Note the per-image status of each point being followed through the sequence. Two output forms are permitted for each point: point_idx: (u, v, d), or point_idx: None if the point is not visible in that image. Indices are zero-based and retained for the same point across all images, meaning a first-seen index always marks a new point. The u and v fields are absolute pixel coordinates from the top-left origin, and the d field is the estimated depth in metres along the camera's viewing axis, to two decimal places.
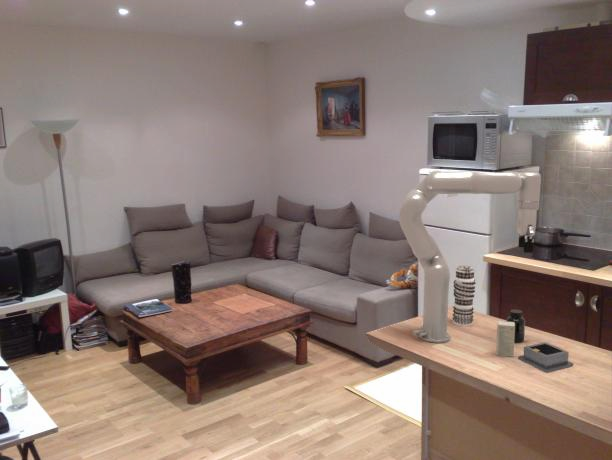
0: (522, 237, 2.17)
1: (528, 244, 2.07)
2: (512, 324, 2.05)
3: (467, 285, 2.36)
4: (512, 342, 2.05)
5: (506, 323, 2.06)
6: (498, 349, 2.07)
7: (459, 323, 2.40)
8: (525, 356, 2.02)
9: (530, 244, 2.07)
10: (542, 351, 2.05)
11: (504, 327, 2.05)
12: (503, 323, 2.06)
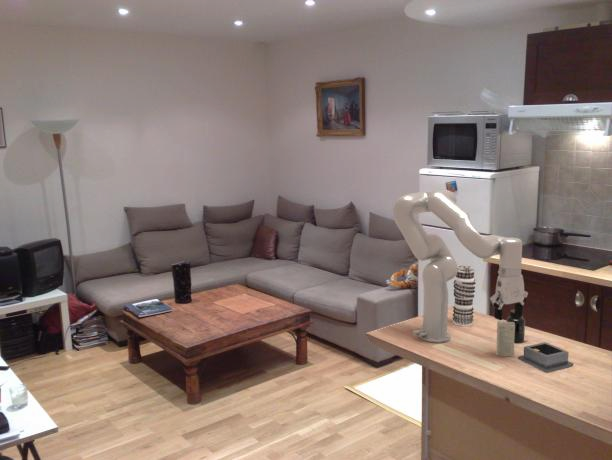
0: None
1: None
2: (512, 324, 2.05)
3: (467, 285, 2.36)
4: (512, 342, 2.05)
5: (506, 323, 2.06)
6: (498, 349, 2.07)
7: (459, 323, 2.40)
8: (525, 356, 2.02)
9: None
10: (542, 351, 2.05)
11: (504, 327, 2.05)
12: (503, 323, 2.06)
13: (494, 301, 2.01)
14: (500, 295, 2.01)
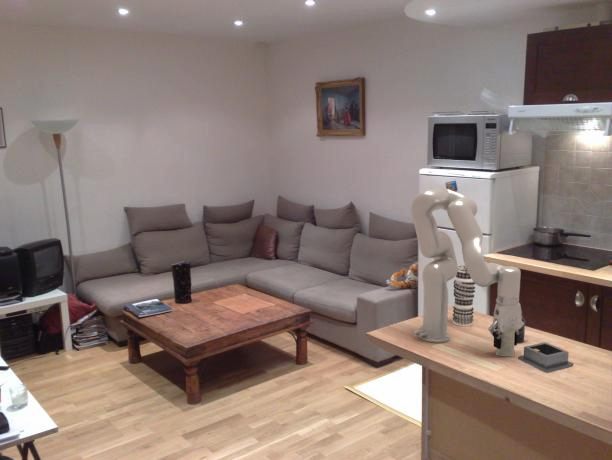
0: None
1: None
2: None
3: (467, 285, 2.36)
4: (512, 342, 2.05)
5: None
6: (498, 349, 2.07)
7: (459, 323, 2.40)
8: (525, 356, 2.02)
9: None
10: (542, 351, 2.05)
11: None
12: None
13: (493, 331, 2.03)
14: (497, 323, 2.03)
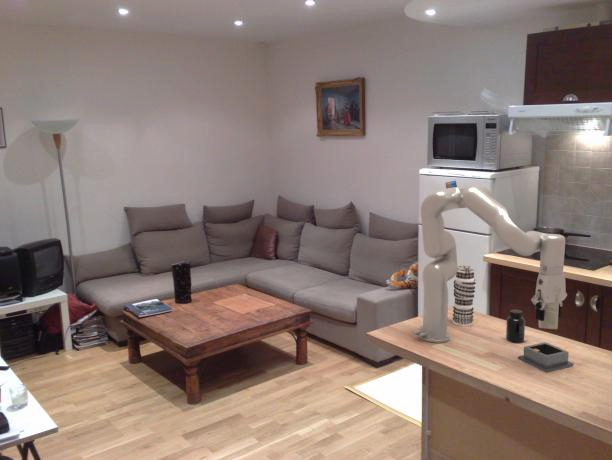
0: None
1: None
2: None
3: (467, 285, 2.36)
4: (556, 313, 1.95)
5: None
6: (541, 321, 1.97)
7: (459, 323, 2.40)
8: (525, 356, 2.02)
9: None
10: (542, 351, 2.05)
11: None
12: None
13: (536, 301, 1.94)
14: (541, 294, 1.93)
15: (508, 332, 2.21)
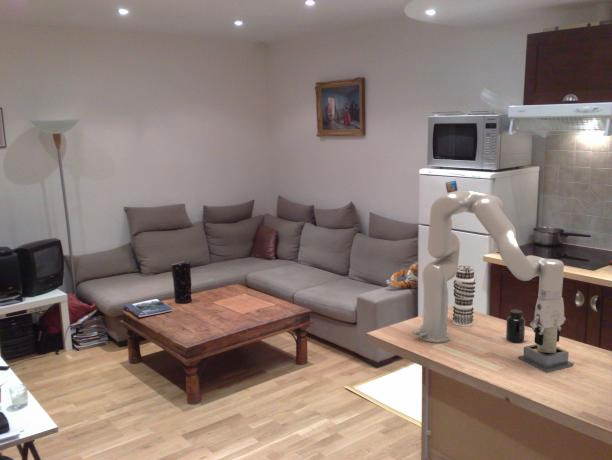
0: None
1: None
2: None
3: (467, 285, 2.36)
4: (555, 338, 1.96)
5: None
6: (540, 345, 1.98)
7: (459, 323, 2.40)
8: (525, 356, 2.02)
9: None
10: None
11: None
12: None
13: (535, 326, 1.95)
14: (540, 318, 1.95)
15: (508, 332, 2.21)
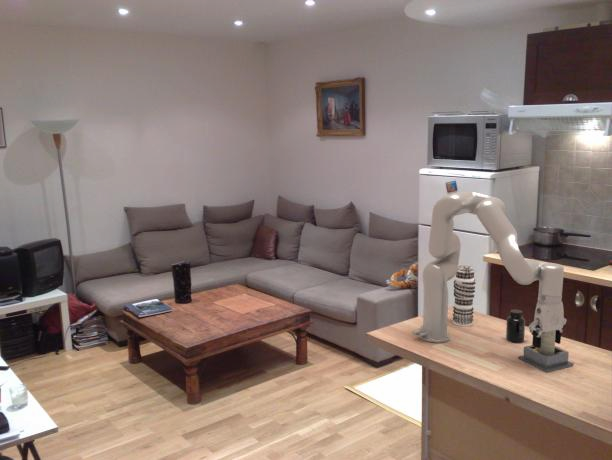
0: None
1: None
2: None
3: (467, 285, 2.36)
4: (552, 347, 1.97)
5: None
6: None
7: (459, 323, 2.40)
8: (525, 356, 2.02)
9: None
10: None
11: (544, 332, 1.97)
12: None
13: (533, 329, 1.95)
14: (539, 322, 1.95)
15: (508, 332, 2.21)
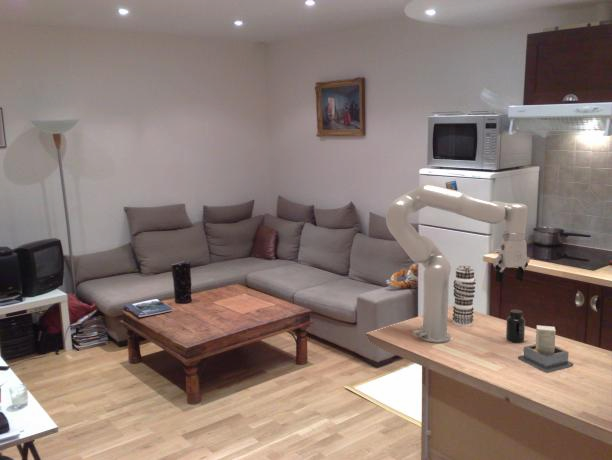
0: None
1: None
2: (552, 329, 1.97)
3: (467, 285, 2.36)
4: (552, 347, 1.97)
5: (546, 328, 1.98)
6: None
7: (459, 323, 2.40)
8: (525, 356, 2.02)
9: None
10: None
11: (544, 332, 1.97)
12: (543, 328, 1.98)
13: (496, 263, 2.08)
14: (502, 258, 2.08)
15: (508, 332, 2.21)
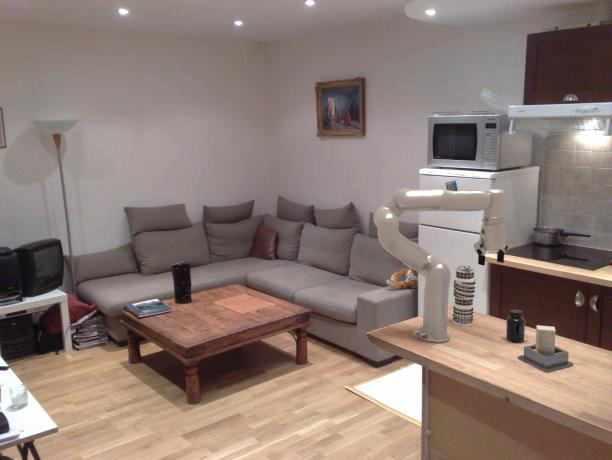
0: None
1: None
2: (552, 329, 1.97)
3: (467, 285, 2.36)
4: (552, 347, 1.97)
5: (546, 328, 1.98)
6: None
7: (459, 323, 2.40)
8: (525, 356, 2.02)
9: None
10: None
11: (544, 332, 1.97)
12: (543, 328, 1.98)
13: (478, 247, 2.16)
14: (483, 242, 2.17)
15: (508, 332, 2.21)
